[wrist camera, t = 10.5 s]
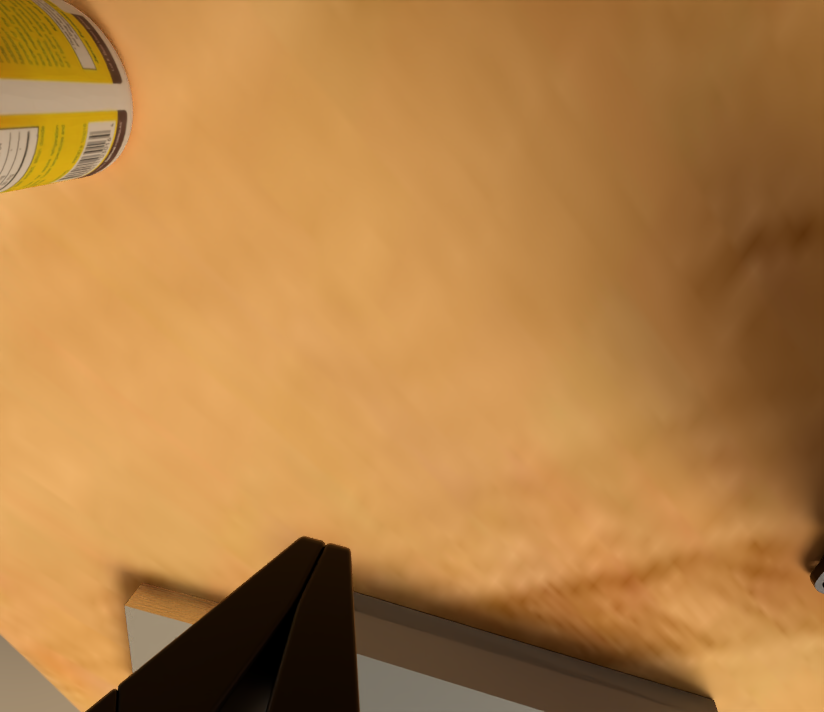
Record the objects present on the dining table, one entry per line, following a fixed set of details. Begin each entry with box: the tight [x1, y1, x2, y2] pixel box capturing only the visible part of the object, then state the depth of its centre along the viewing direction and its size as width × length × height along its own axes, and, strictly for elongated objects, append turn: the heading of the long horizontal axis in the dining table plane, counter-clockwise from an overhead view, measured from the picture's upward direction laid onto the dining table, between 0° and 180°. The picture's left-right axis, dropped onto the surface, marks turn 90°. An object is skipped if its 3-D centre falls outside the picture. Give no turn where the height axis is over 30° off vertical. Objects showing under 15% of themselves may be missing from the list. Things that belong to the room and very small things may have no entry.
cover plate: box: [125, 583, 219, 673], centre depth 30 cm, size 10×9×2 cm
